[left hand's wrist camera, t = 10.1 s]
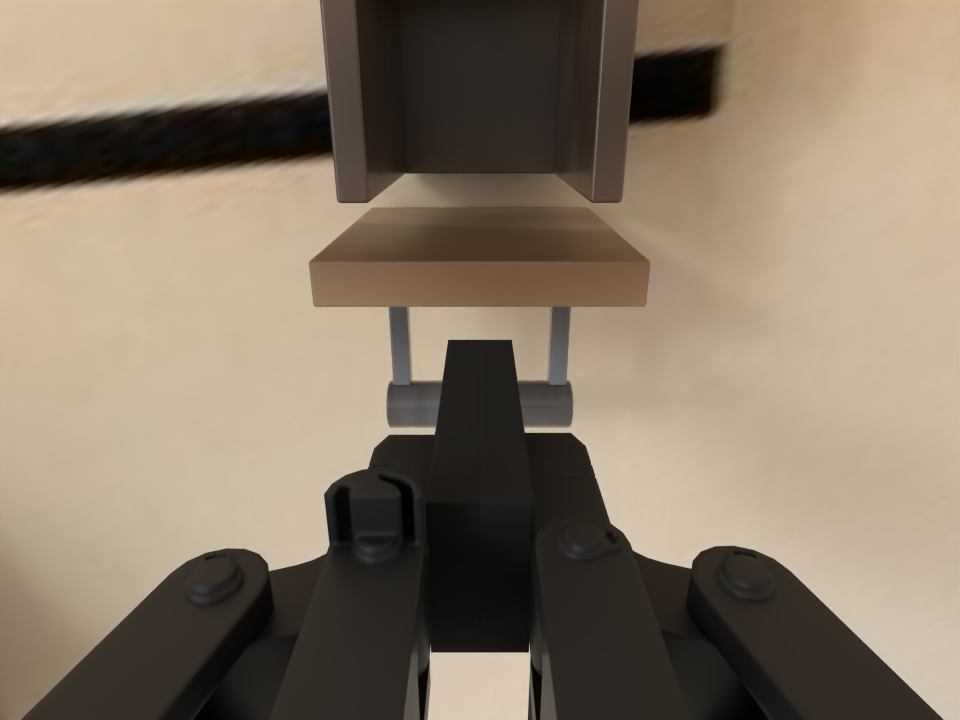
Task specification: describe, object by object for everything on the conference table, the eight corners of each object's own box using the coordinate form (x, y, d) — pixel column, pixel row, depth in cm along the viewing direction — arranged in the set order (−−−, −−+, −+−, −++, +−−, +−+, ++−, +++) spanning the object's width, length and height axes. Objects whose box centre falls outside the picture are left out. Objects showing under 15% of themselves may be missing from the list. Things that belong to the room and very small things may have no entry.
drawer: (578, 366, 27) (626, 493, 18) (381, 367, 27) (332, 493, 18) (631, -471, 17) (794, -1100, 8) (327, -471, 17) (162, -1100, 8)
